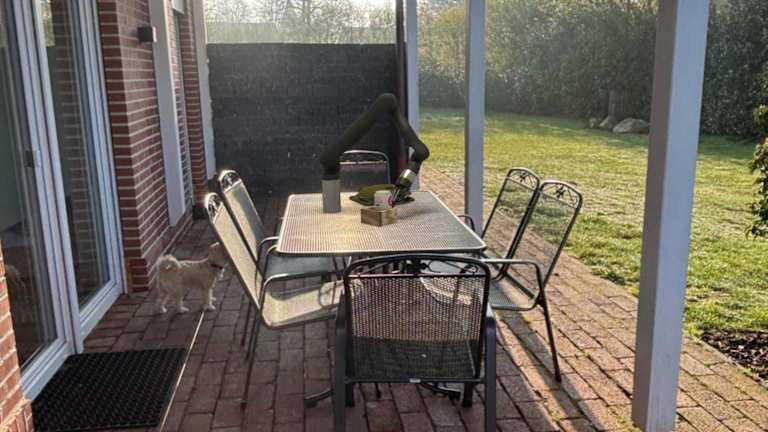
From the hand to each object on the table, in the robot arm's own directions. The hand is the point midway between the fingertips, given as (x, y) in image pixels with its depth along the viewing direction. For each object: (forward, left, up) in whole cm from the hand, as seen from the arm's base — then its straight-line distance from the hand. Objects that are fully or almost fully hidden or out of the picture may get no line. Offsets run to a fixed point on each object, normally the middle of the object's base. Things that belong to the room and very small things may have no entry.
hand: (389, 208), depth 321 cm
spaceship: (+10, +53, -7) cm, 55 cm away
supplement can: (-4, -3, -6) cm, 8 cm away
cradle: (-6, -3, -6) cm, 9 cm away
